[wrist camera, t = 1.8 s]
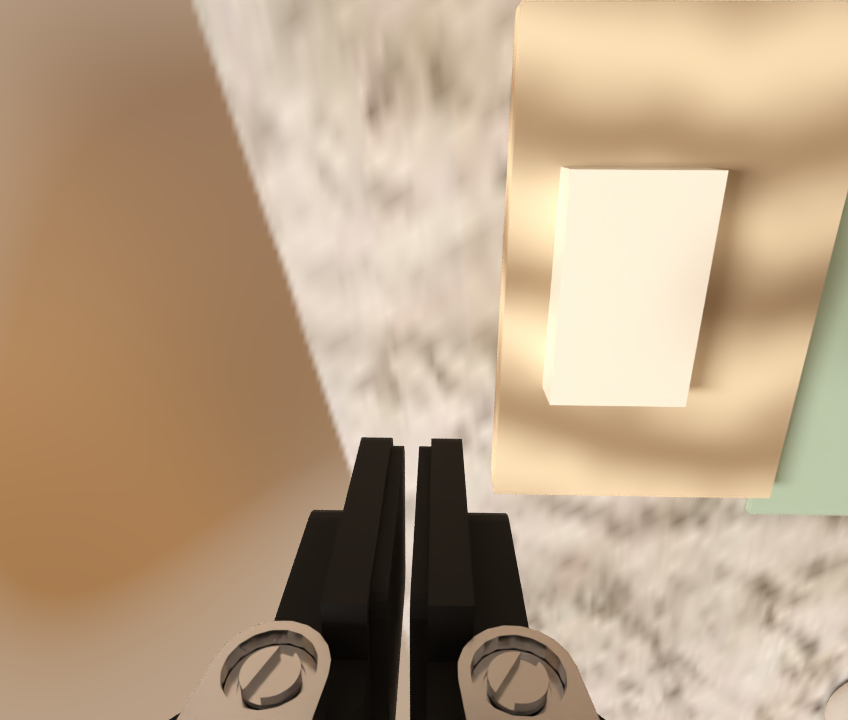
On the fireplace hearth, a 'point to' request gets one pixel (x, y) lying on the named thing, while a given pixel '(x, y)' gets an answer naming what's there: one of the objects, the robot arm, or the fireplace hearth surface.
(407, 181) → the fireplace hearth surface
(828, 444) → the mat
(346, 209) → the fireplace hearth surface
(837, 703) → the cup
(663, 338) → the cream rectangular block
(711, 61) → the wavy wooden board
